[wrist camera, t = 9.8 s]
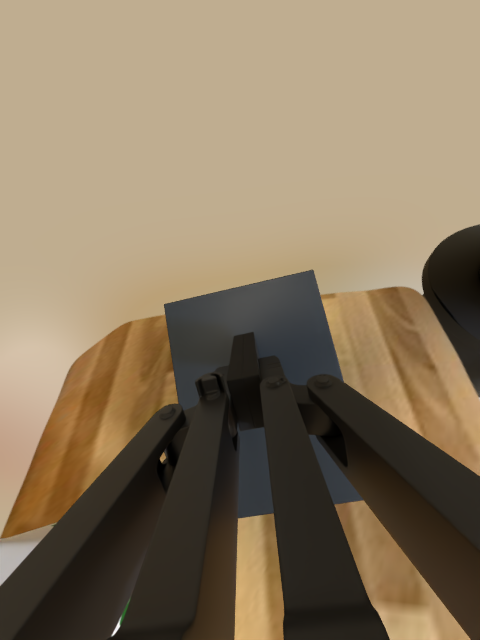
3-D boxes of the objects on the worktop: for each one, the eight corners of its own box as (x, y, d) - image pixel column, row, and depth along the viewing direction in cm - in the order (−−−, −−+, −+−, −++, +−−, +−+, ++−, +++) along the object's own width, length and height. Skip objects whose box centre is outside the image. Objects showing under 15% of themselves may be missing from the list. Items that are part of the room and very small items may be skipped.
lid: (167, 305, 19) (163, 304, 19) (311, 272, 18) (313, 269, 18) (199, 516, 17) (196, 524, 16) (370, 491, 16) (375, 498, 15)
